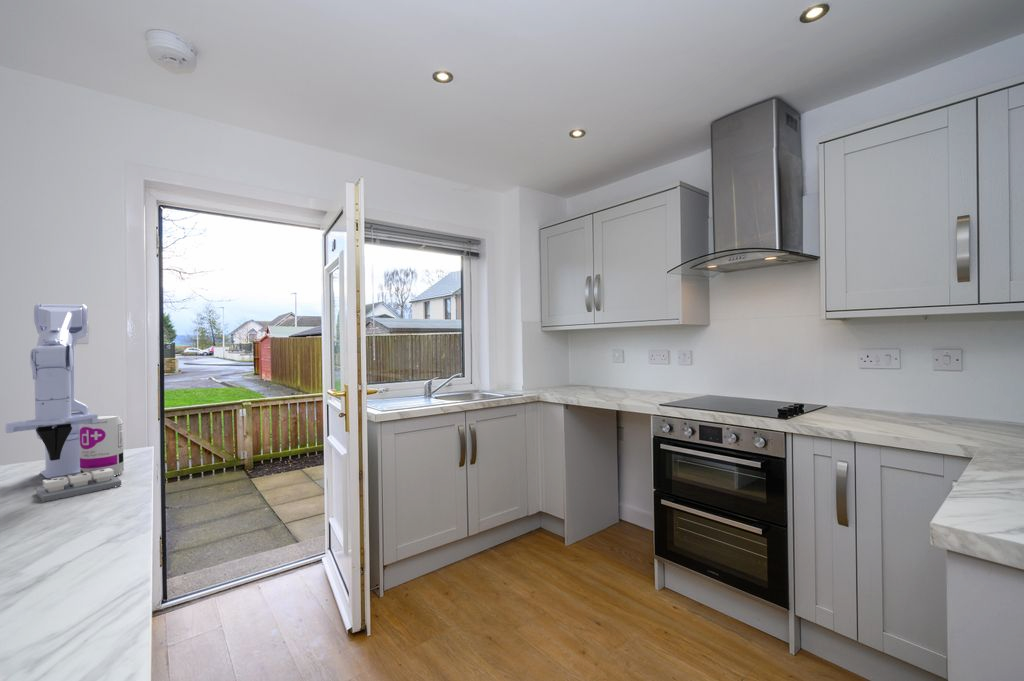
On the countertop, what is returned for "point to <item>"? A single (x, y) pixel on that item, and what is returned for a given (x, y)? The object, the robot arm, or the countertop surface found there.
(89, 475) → the tile two
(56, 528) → the countertop surface
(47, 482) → the tile three
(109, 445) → the supplement can
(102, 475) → the tile one
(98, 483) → the keypad
